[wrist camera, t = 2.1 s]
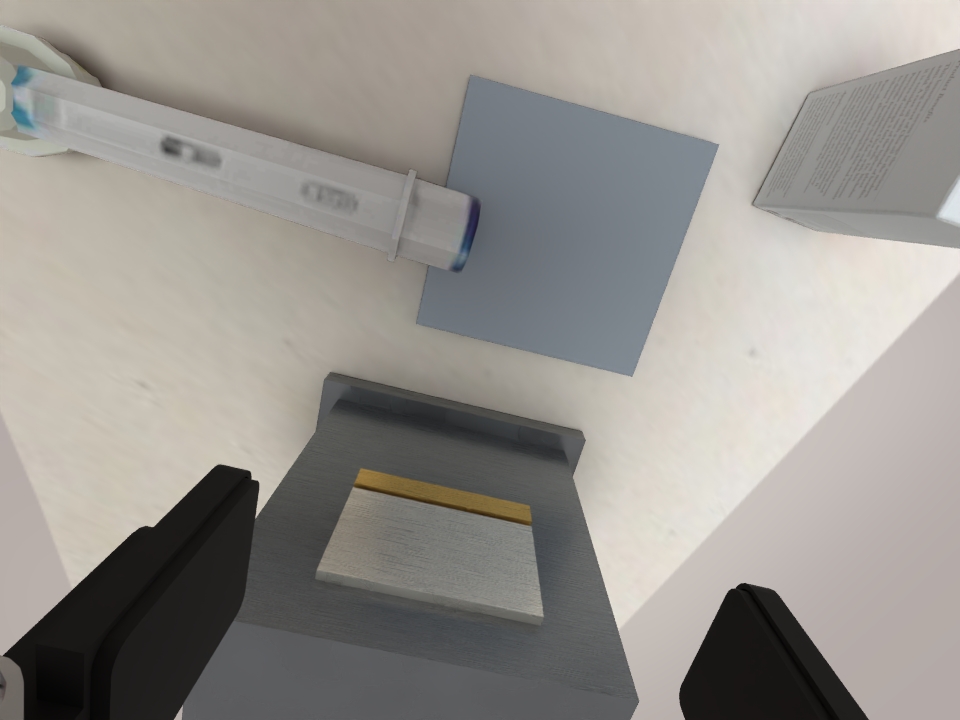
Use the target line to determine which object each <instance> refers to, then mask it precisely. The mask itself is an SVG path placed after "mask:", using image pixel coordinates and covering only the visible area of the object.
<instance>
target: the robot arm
mask: <svg viewBox="0 0 960 720" xmlns="http://www.w3.org/2000/svg"><path fill="white" fill-rule="evenodd" d="M258 493H259V482H258V481H255V480H251V472H250V471H248V470H243V469H239V468H234V467H230V466H226V465H221V464H220V465H217V466H215V467H214V468H213V469H212V470H211V471H210V472H209V473H208V474H207V475H206V476H205V477H204V478H203V479H202V480H201V481H200V482H199V483H198V484H197V485H196V486H195V487H194V488H193V489H192V490H191V491H190V492H189V493H188V494H187V495H186V496H185V497H184V498H183V499H182V500H181V501H180V502H179V503H178V504H177V505H176V506H175V507H174V508H173V509H171V510H170V511H169V512H168V513H167V514H166V515H165V516H164V517H163V518H162V519H161V520H160V521H159V522H158V523H157V524H156V525H155V526H154V527H149V526H144V527H141V528H139V529H138V530H136V531H135V532H134V533H132V534H131V535H130V536H129V537H128V538H127V539H126V540H125V541H124V542H123V543H122V544H121V545H119V546H118V547H117V548H116V549H115V550H114V551H113V552H112V553H111V554H110V555H109V556H108V557H107V558H106V559H105V560H104V561H103V562H101V563H100V564H99V565H98V566H97V567H96V568H95V569H94V570H93V571H92V572H91V573H90V574H89V575H88V576H87V577H86V578H85V579H83V580H82V581H81V582H80V583H79V584H78V585H77V586H76V587H75V588H74V589H73V590H72V591H71V592H70V593H69V594H68V595H67V596H65V598H63V599H62V600H61V601H60V602H59V603H58V604H57V605H56V606H55V607H54V608H53V609H52V610H51V611H50V612H48V613H47V614H46V615H45V616H44V617H43V618H42V619H41V620H40V621H39V622H38V623H37V624H36V625H35V626H34V627H33V628H32V629H31V630H29V631H28V632H27V633H26V634H25V635H24V636H23V637H22V638H21V639H20V640H19V641H18V642H17V643H16V644H15V645H14V646H13V647H11V648H10V649H9V650H8V651H7V652H6V653H5V654H4V655H3V656H0V720H174V718H175V717H176V715H177V713H178V712H179V710H180V708H181V707H182V705H183V704H184V702H185V700H186V699H187V697H188V695H189V694H190V692H191V690H192V689H193V687H194V685H195V684H196V682H197V680H198V679H199V677H200V675H201V674H202V672H203V670H204V669H205V667H206V665H207V664H208V662H209V660H210V659H211V657H212V655H213V654H214V652H215V650H216V649H217V647H218V646H219V644H220V642H221V641H222V639H223V637H224V636H225V634H226V632H227V631H228V629H229V627H230V626H231V624H232V622H233V621H234V619H235V617H236V616H237V614H238V612H239V610H240V608H241V605H242V602H243V599H244V595H245V590H246V582H247V575H248V567H249V560H250V553H251V545H252V538H253V530H254V523H255V516H256V508H257V501H258ZM679 699H680V706H681V709H682V712H683V715H684V718H685V720H869V719H868V718H867V717H866V715H865V714H864V712H863V711H862V710H861V708H860V707H859V705H858V704H857V703H856V701H855V700H854V699H853V697H852V696H851V694H850V693H849V692H848V690H847V689H846V688H845V686H844V685H843V683H842V682H841V681H840V679H839V678H838V676H837V675H836V674H835V672H834V671H833V670H832V668H831V667H830V665H829V664H828V663H827V661H826V660H825V659H824V658H823V656H822V654H821V653H820V652H819V650H818V649H817V647H816V646H815V645H814V643H813V642H812V640H811V639H810V638H809V636H808V635H807V634H806V632H805V631H804V629H803V628H802V627H801V625H800V624H799V623H798V621H797V620H796V618H795V617H794V616H793V614H792V613H791V612H790V610H789V609H788V607H787V606H786V605H785V603H784V602H783V600H782V599H781V598H780V596H779V595H778V594H777V593H776V592H775V591H774V590H771V589H769V588H764V587H760V586H755V585H751V584H746V583H741V584H739V585H738V586H737V587H736V589H731V590H729V591H728V593H727V595H726V596H725V598H724V600H723V602H722V604H721V606H720V609H719V610H718V612H717V615H716V616H715V619H714V620H713V622H712V624H711V627H710V628H709V631H708V632H707V635H706V637H705V639H704V641H703V643H702V645H701V647H700V649H699V651H698V653H697V655H696V657H695V659H694V661H693V663H692V665H691V667H690V669H689V671H688V673H687V675H686V677H685V679H684V681H683V683H682V685H681V688H680V693H679Z"/></svg>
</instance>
